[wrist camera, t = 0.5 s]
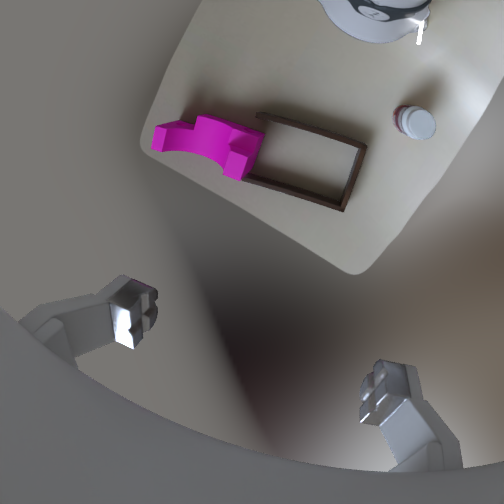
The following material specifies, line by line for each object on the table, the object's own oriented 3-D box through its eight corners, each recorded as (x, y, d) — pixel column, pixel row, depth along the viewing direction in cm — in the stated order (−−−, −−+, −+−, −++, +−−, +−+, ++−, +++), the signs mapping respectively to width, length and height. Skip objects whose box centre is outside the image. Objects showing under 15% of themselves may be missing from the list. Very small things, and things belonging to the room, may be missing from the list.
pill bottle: (423, 114, 33) (444, 119, 26) (412, 139, 36) (430, 149, 29) (398, 98, 33) (414, 99, 26) (387, 124, 36) (400, 130, 29)
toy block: (265, 133, 42) (253, 140, 35) (252, 168, 45) (239, 181, 39) (182, 106, 42) (159, 110, 36) (173, 139, 45) (151, 148, 39)
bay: (259, 111, 40) (256, 112, 38) (365, 143, 38) (367, 146, 36) (245, 176, 46) (241, 180, 44) (342, 206, 45) (343, 212, 43)
